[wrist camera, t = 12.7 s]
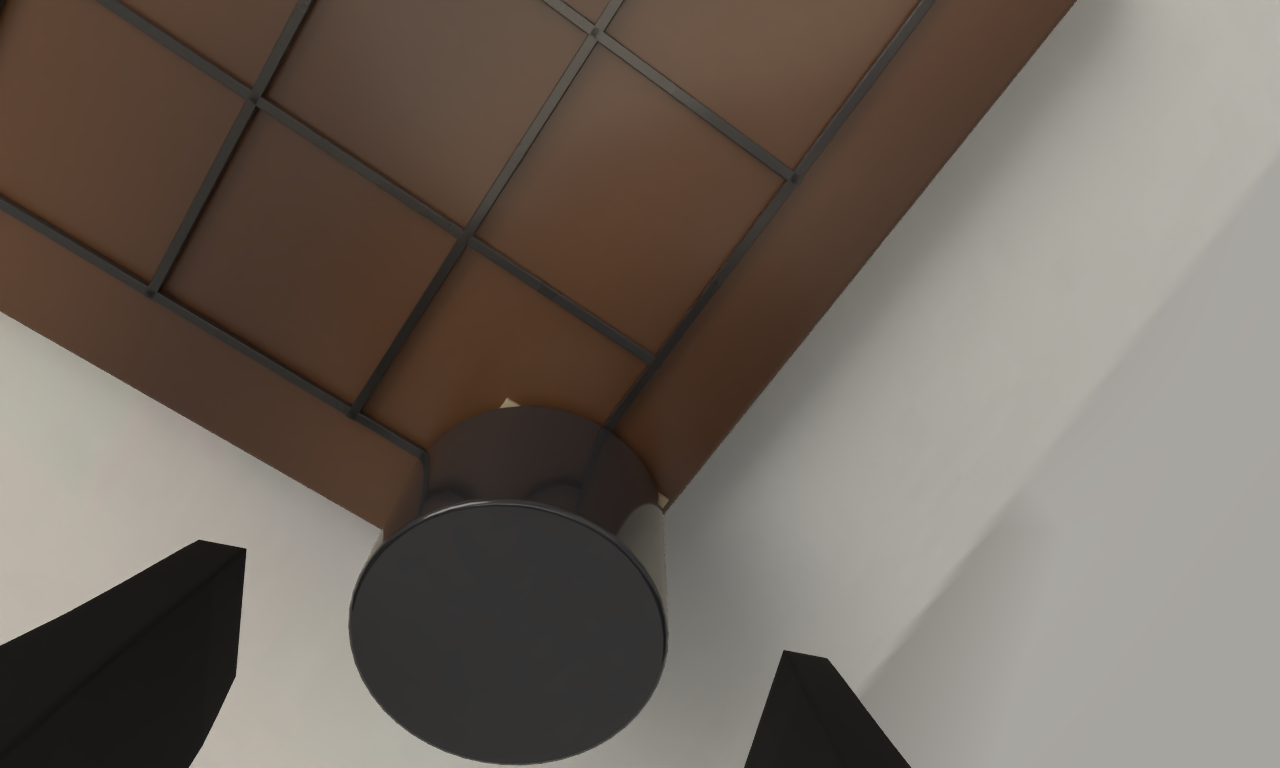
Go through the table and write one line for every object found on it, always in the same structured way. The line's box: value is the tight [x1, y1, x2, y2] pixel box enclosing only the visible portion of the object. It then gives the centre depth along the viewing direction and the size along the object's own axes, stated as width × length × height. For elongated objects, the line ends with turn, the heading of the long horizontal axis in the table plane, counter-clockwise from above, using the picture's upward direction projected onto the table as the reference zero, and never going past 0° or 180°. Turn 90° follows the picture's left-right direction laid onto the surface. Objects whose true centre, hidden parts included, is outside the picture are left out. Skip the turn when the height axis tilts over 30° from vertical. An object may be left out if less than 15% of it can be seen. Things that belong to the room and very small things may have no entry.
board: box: [0, 0, 1077, 530], centre depth 14 cm, size 14×14×1 cm
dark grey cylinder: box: [348, 406, 669, 765], centre depth 15 cm, size 4×4×3 cm
